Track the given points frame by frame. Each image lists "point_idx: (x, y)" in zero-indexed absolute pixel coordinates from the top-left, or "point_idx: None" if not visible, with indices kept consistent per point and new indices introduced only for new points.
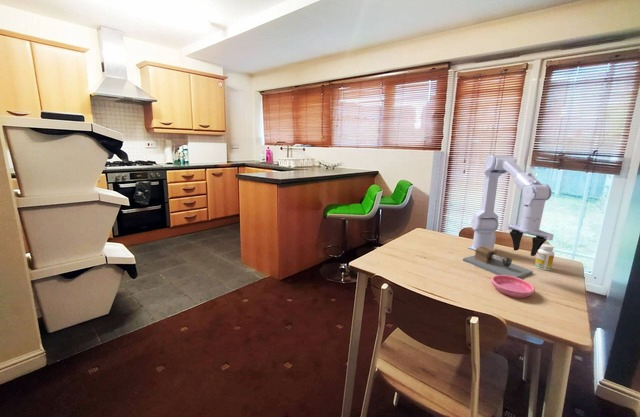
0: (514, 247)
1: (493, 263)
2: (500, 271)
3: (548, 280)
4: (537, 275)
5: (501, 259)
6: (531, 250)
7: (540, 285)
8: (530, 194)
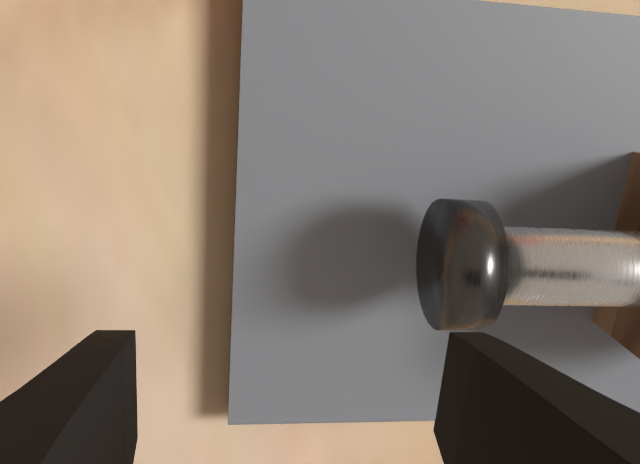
0: (505, 351)
1: None
2: (427, 59)
3: None
4: (176, 407)
5: (536, 240)
6: (96, 375)
7: (11, 171)
8: None
